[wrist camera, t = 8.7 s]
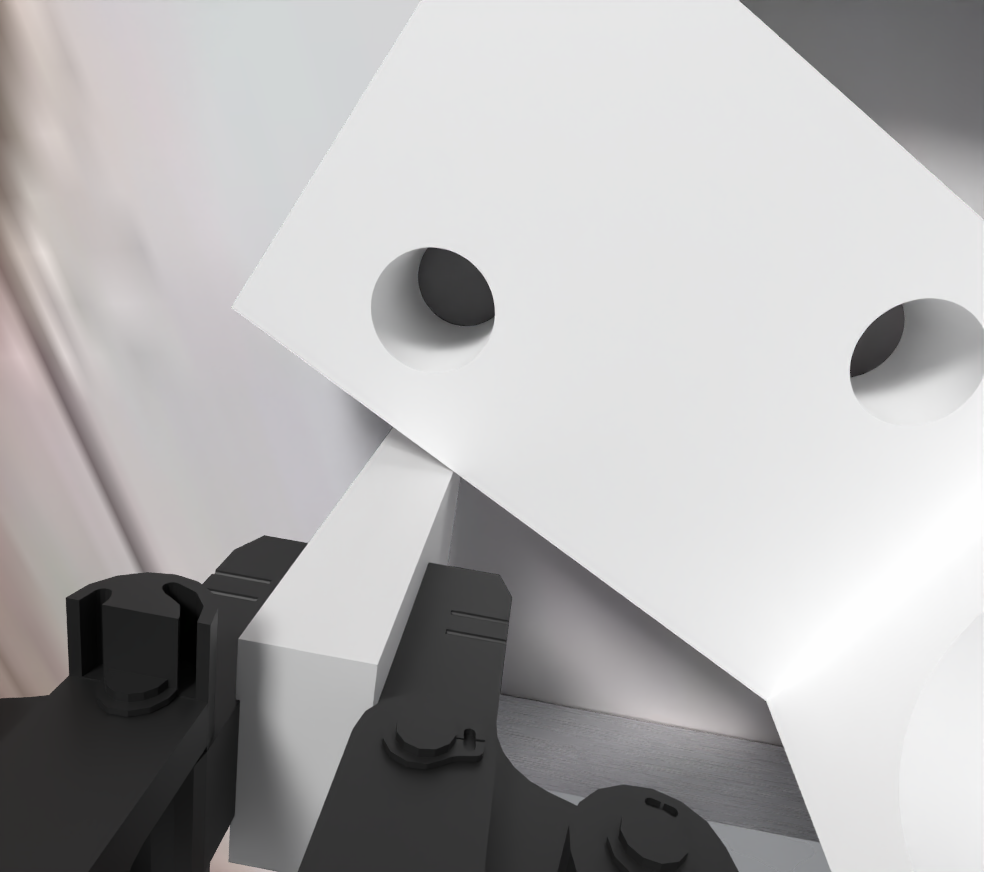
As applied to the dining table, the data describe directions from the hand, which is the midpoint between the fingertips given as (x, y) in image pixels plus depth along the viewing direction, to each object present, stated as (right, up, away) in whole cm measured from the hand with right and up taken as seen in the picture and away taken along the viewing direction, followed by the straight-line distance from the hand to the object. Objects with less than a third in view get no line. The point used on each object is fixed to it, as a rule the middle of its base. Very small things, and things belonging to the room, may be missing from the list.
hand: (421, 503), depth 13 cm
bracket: (+5, +3, +1) cm, 6 cm away
